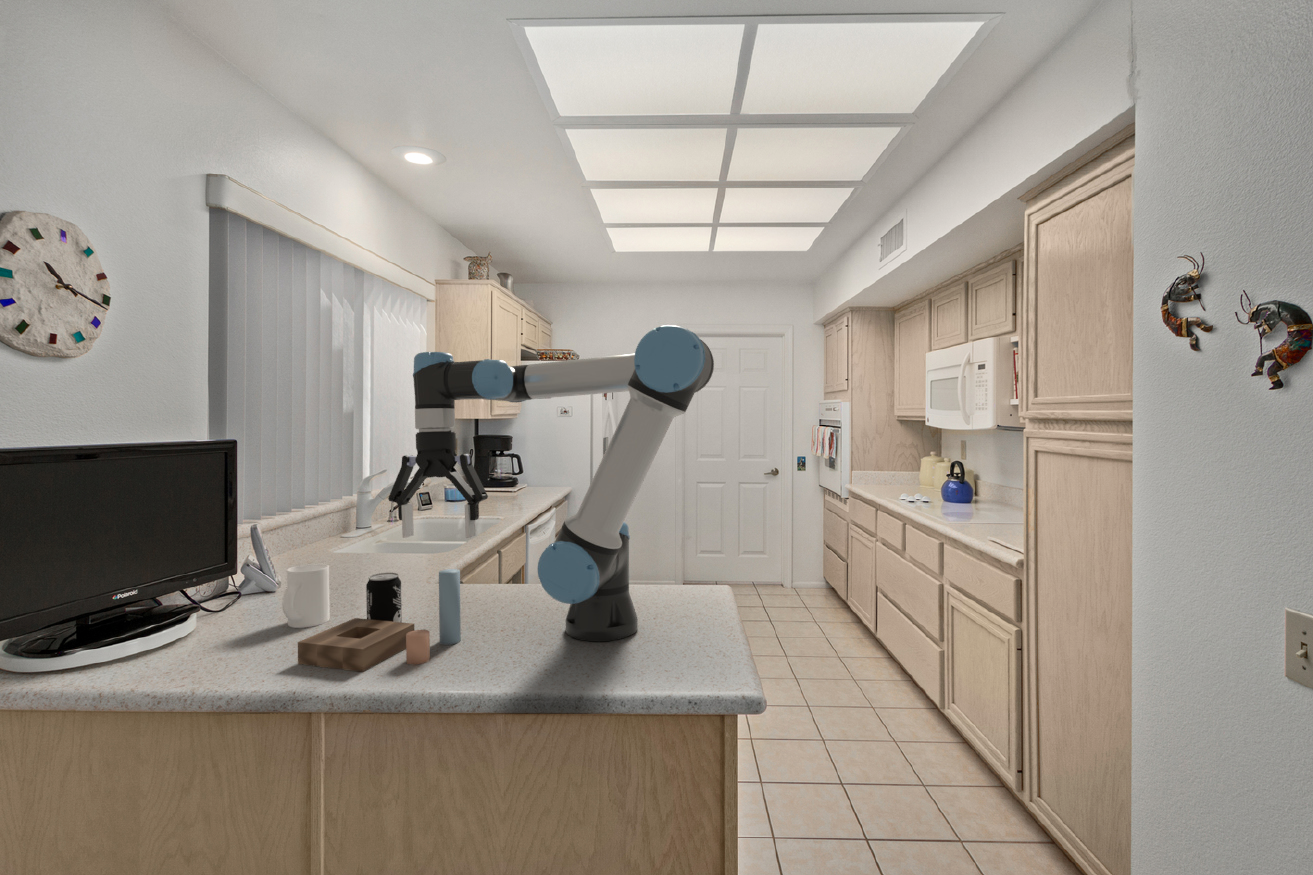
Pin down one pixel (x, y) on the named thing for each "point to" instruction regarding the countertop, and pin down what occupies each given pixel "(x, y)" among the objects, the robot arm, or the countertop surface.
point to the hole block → (354, 644)
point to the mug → (307, 595)
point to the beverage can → (384, 597)
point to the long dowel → (449, 606)
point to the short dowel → (417, 647)
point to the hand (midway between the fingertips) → (439, 536)
